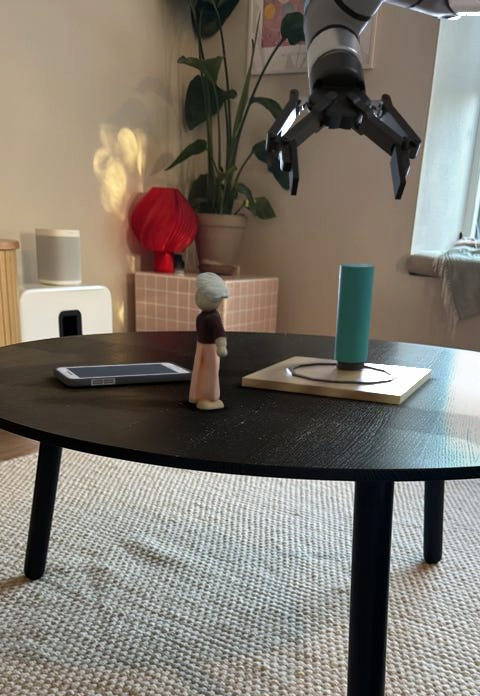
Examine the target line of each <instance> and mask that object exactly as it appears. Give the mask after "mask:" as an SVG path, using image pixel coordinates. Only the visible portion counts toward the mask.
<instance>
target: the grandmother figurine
mask: <svg viewBox="0 0 480 696" xmlns="http://www.w3.org/2000/svg"><path fill="white" fill-rule="evenodd" d="M195 286H196V288H197V289H196V291H195V293H194V301H195V305H196V306H197V308H198V309H200V310H201V312H199V313H198V314H197V315H196V318H195V332H196V348H195V355H194V361H193V366H192V367H193V368H192V378H191V380H190V385H189V386H190V387H189V395H188V402H189V403H191V404H196V408H197V409H199V410H206V411H208V410H217V409H224V407H225V405H224V403H223V401H222V400H220V395H221V393H220V392H221V391H220V390H221V389H220V379H219V370H220V362H221V361H220V360H221V358H226V356H227V355H228V349H227V345H228V343H227V340H228V335H227V333H226V330H225V327H224V324H223V321H222V318H221V314H220V312H219V310H218V308H220V306H221V304H222V302H223V300H224V299H225V300H226V299H228V298H230V296H231V292H230V291H229V288H228V287H227V285H226V283H225V281H224V280H223V278H221V277H220V276H219V275H218V274H217V273H214V272H211V271H210V272H209V271H208V272H202V273H199V274H198V275H197V276H196V279H195Z"/></svg>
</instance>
